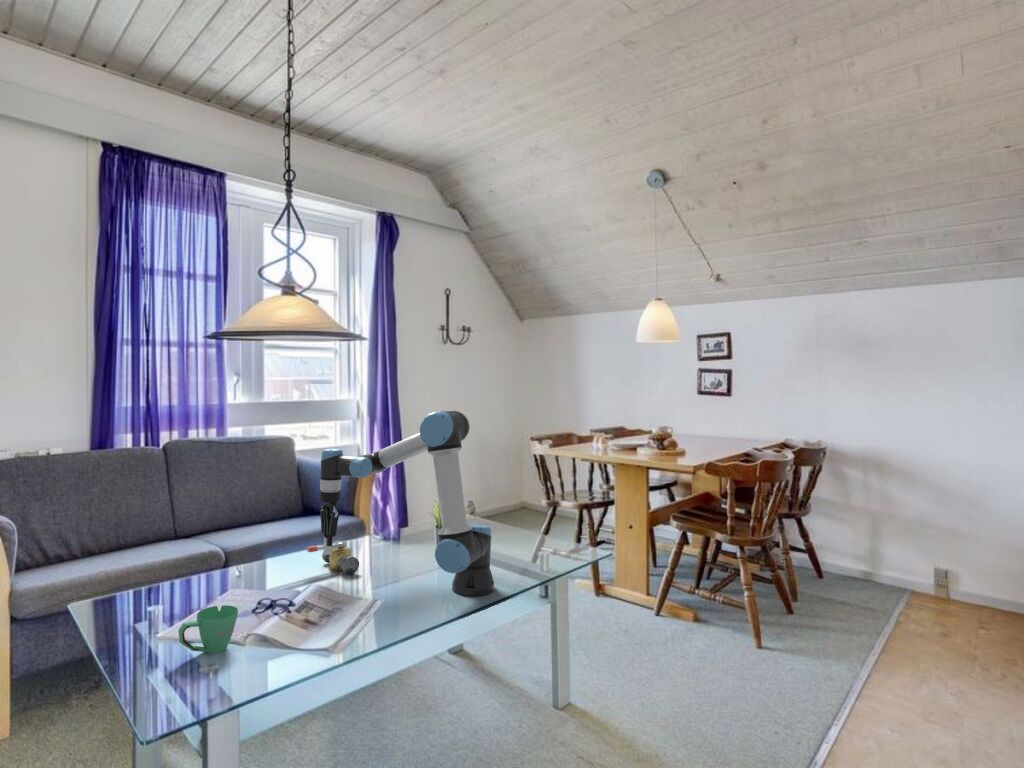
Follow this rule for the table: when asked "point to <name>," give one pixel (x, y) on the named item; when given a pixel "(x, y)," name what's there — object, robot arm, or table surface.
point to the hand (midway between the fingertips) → (327, 554)
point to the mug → (212, 628)
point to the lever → (321, 547)
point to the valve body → (342, 561)
